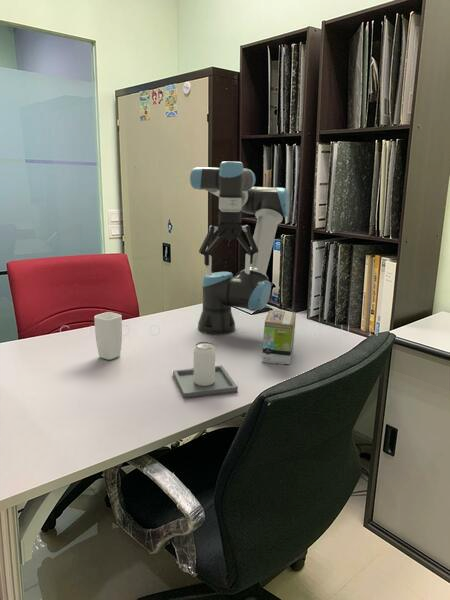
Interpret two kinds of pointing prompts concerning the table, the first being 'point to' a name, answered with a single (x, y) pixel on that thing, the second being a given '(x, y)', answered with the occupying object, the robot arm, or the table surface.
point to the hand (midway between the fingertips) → (228, 274)
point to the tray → (193, 390)
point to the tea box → (278, 337)
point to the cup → (108, 334)
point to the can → (204, 364)
